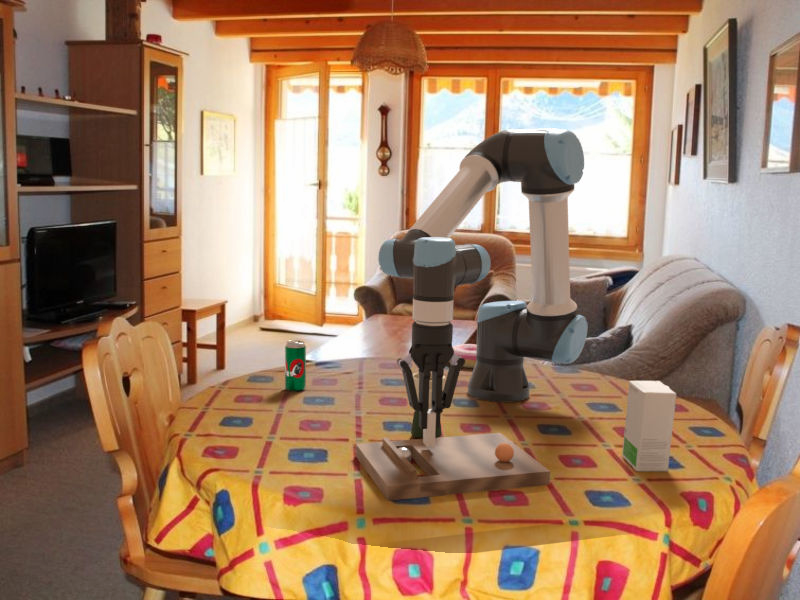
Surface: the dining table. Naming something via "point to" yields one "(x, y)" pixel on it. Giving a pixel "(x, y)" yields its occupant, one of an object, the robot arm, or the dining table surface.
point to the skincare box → (649, 425)
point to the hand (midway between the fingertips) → (428, 444)
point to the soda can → (295, 365)
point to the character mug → (416, 428)
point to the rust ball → (504, 452)
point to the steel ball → (406, 453)
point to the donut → (466, 354)
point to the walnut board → (448, 466)
